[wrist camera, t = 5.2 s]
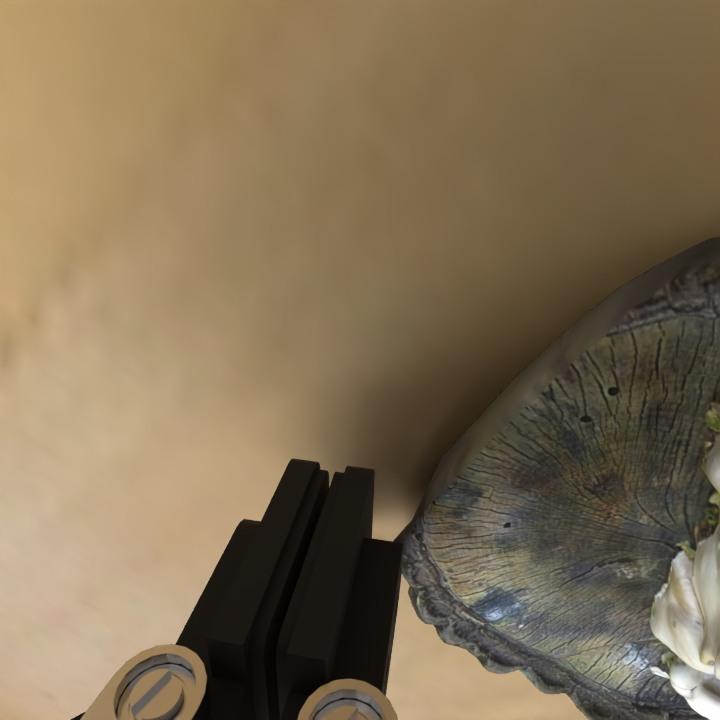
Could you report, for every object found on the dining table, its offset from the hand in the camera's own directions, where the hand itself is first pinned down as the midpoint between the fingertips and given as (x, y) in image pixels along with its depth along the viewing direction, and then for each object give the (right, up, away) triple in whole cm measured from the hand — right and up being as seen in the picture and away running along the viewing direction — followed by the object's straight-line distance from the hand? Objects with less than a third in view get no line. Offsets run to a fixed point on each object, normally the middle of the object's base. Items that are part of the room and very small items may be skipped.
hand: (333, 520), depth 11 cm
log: (+7, 0, +1) cm, 7 cm away
